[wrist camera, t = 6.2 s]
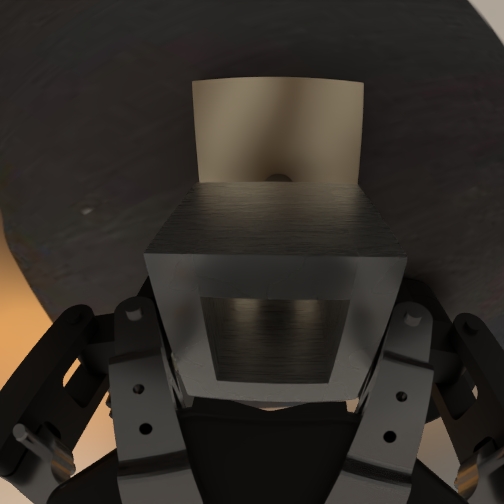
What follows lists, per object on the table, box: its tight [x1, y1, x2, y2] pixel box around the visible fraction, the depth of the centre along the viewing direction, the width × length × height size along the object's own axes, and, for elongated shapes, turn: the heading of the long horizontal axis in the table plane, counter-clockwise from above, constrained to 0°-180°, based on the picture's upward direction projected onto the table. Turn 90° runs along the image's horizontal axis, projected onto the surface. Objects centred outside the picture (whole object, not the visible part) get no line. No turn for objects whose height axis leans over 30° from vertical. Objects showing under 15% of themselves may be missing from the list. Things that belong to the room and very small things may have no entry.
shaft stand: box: [192, 77, 364, 184], centre depth 15 cm, size 10×14×10 cm
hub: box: [143, 182, 408, 402], centre depth 10 cm, size 6×6×5 cm
